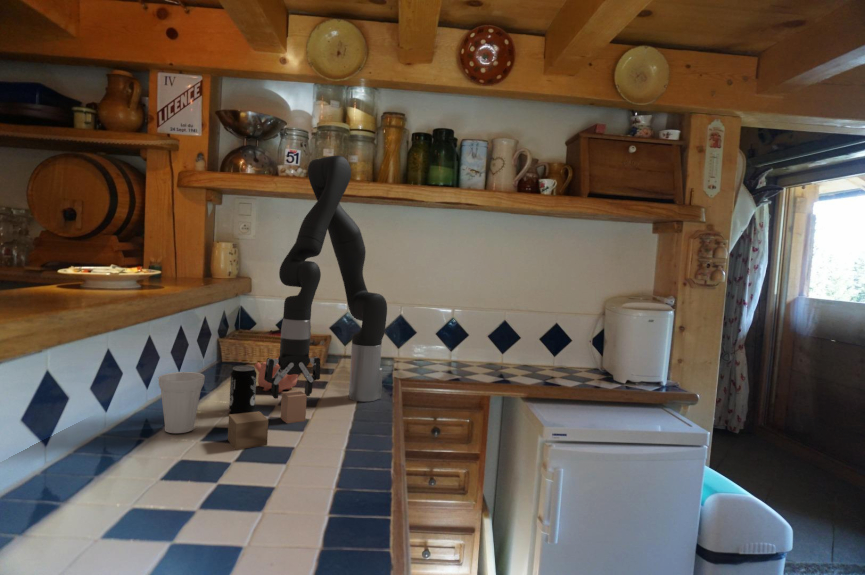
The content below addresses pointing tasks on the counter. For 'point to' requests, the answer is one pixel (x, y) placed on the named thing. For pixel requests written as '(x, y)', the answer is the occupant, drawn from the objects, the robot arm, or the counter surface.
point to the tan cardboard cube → (293, 406)
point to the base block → (247, 430)
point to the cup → (180, 399)
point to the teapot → (284, 382)
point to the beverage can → (242, 389)
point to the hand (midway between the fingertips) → (291, 396)
